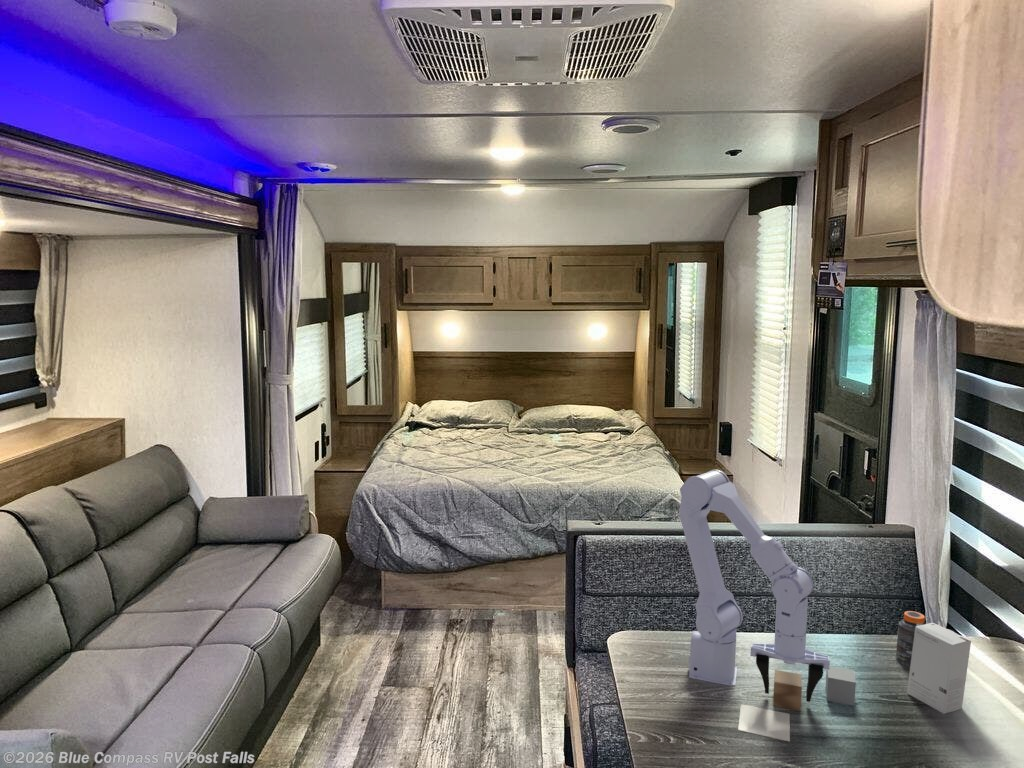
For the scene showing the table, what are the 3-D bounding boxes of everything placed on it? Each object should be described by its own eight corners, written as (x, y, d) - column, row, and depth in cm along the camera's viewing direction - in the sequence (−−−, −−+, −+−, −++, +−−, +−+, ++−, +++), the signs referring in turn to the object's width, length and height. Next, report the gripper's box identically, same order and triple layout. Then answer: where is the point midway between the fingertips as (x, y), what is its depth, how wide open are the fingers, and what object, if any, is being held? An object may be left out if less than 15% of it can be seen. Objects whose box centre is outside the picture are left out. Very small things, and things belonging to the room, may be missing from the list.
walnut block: (773, 705, 137) (774, 681, 136) (773, 692, 142) (774, 669, 141) (800, 711, 135) (801, 687, 135) (800, 697, 140) (801, 674, 139)
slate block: (826, 700, 139) (828, 677, 138) (825, 688, 144) (826, 665, 143) (854, 706, 137) (855, 682, 136) (852, 693, 142) (853, 670, 141)
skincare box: (906, 694, 142) (911, 625, 140) (925, 688, 144) (930, 620, 143) (946, 716, 134) (951, 644, 133) (966, 709, 137) (972, 638, 135)
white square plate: (737, 732, 129) (738, 729, 129) (740, 706, 137) (740, 704, 137) (789, 743, 126) (789, 740, 126) (789, 716, 134) (789, 714, 134)
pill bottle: (930, 670, 151) (934, 621, 150) (901, 667, 153) (904, 618, 151) (920, 657, 157) (923, 609, 156) (892, 654, 158) (895, 607, 157)
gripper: (750, 632, 136) (748, 697, 137) (832, 646, 130) (828, 713, 132) (752, 617, 142) (749, 680, 144) (829, 629, 137) (826, 694, 138)
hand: (787, 695), depth 138 cm, fingers open, 7 cm apart
